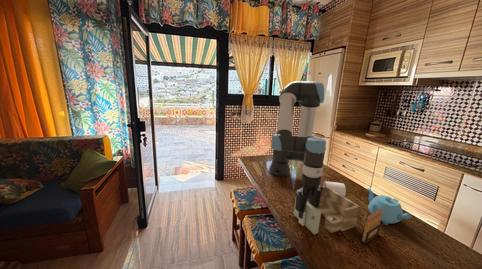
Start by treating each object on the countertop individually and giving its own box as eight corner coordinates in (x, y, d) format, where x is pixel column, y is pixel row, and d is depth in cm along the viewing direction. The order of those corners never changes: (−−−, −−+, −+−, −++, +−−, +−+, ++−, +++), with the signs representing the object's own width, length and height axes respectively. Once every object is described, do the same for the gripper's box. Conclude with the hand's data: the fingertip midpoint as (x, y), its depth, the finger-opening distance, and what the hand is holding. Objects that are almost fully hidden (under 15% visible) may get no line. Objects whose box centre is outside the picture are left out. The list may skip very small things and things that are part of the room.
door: (291, 215, 90) (293, 196, 88) (296, 213, 91) (299, 195, 89) (312, 235, 78) (315, 213, 76) (317, 233, 79) (321, 212, 77)
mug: (344, 200, 104) (346, 187, 102) (325, 198, 106) (327, 185, 104) (338, 190, 116) (340, 178, 114) (320, 187, 117) (322, 175, 116)
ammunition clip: (365, 243, 75) (371, 217, 72) (360, 240, 76) (366, 214, 73) (378, 234, 80) (384, 209, 77) (373, 231, 82) (379, 206, 79)
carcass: (302, 208, 96) (304, 190, 93) (323, 202, 101) (325, 185, 99) (332, 234, 79) (336, 213, 76) (356, 226, 84) (360, 206, 82)
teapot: (365, 221, 88) (370, 199, 85) (363, 206, 100) (367, 186, 97) (407, 233, 81) (414, 210, 78) (399, 216, 93) (405, 195, 90)
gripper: (301, 181, 73) (295, 233, 78) (333, 175, 79) (325, 223, 84) (289, 173, 79) (284, 221, 85) (320, 168, 86) (313, 213, 91)
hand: (305, 222), depth 85 cm, fingers open, 4 cm apart
